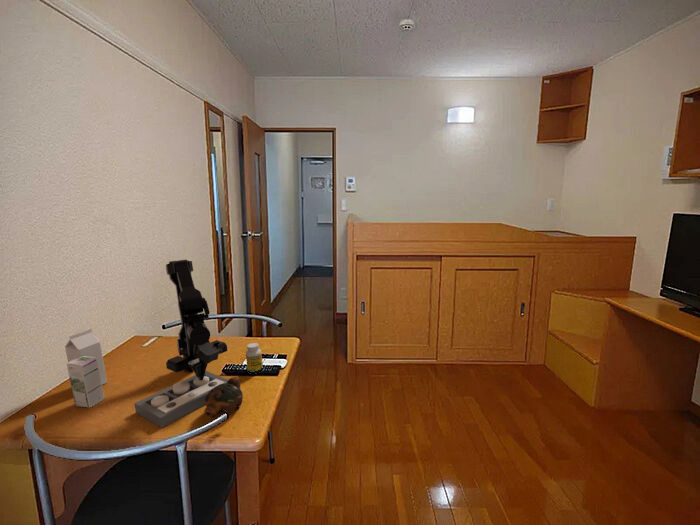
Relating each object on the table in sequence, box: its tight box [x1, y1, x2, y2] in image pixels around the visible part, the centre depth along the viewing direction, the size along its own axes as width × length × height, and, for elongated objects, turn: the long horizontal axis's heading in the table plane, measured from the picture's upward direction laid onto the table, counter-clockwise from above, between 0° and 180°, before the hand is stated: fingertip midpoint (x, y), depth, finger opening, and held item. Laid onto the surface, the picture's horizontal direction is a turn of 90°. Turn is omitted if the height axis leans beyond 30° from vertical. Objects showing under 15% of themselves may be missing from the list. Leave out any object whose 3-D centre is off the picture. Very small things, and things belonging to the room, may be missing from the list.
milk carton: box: [64, 328, 108, 386], centre depth 133 cm, size 7×7×19 cm
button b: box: [172, 381, 190, 395], centre depth 124 cm, size 5×5×2 cm
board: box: [134, 370, 229, 428], centre depth 123 cm, size 14×24×4 cm, turn 145°
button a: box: [151, 395, 169, 408], centre depth 119 cm, size 5×5×2 cm
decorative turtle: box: [203, 376, 244, 418], centre depth 117 cm, size 10×15×8 cm, turn 167°
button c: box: [193, 376, 209, 387], centre depth 130 cm, size 5×5×2 cm
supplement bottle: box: [245, 342, 264, 372], centre depth 141 cm, size 5×5×10 cm
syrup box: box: [66, 356, 105, 409], centre depth 123 cm, size 6×6×14 cm
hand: (201, 379), depth 130 cm, fingers closed, pressing on button c
